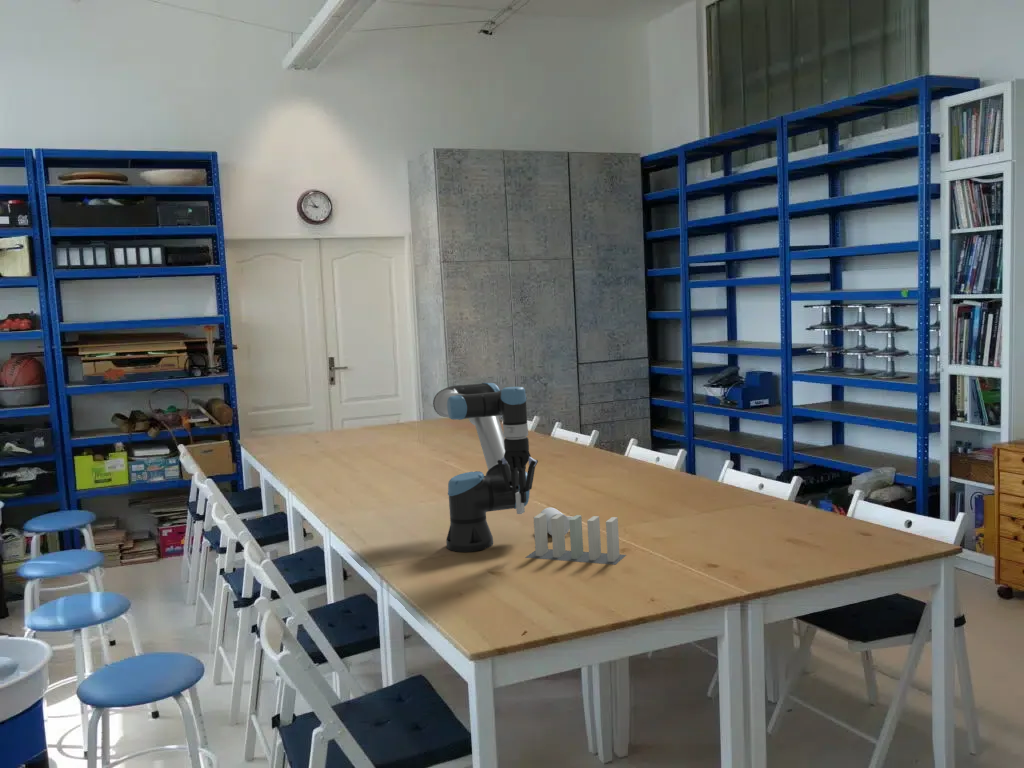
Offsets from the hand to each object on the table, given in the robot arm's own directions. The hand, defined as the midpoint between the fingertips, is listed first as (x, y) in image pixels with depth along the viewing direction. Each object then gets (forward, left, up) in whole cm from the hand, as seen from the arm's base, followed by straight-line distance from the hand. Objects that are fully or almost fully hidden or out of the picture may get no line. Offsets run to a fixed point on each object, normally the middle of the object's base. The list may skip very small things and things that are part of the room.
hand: (520, 512), depth 281 cm
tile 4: (+24, 0, -13) cm, 27 cm away
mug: (+2, +25, -13) cm, 28 cm away
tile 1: (+6, 0, -13) cm, 14 cm away
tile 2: (+12, 0, -13) cm, 17 cm away
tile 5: (+30, 0, -13) cm, 32 cm away
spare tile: (+18, 0, -13) cm, 22 cm away
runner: (+17, 0, -13) cm, 22 cm away
